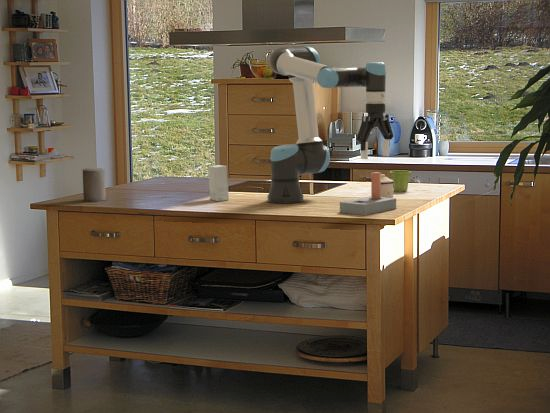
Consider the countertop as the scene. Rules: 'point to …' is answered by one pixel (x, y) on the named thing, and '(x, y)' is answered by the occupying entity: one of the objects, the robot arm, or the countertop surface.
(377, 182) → the dowel
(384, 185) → the teacup with lid
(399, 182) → the plant pot
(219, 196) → the skincare box
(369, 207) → the bore block
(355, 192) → the countertop surface
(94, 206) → the countertop surface
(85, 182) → the pillar candle
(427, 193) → the countertop surface
